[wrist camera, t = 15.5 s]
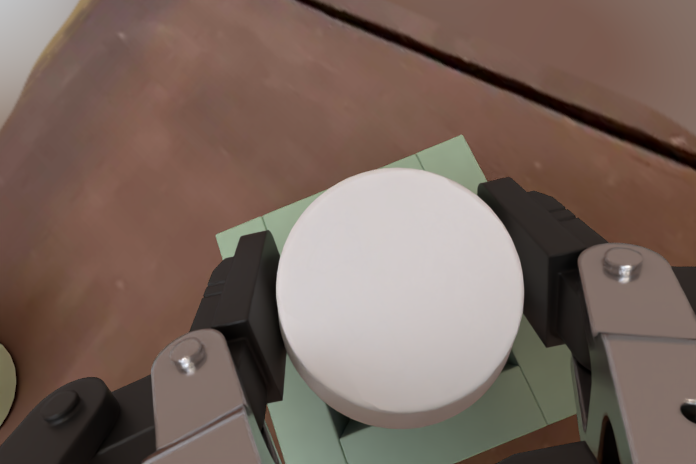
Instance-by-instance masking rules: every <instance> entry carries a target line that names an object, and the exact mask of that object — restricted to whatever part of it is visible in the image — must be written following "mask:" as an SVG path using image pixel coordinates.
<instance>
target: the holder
mask: <svg viewBox="0 0 696 464" xmlns="http://www.w3.org/2000/svg"><path fill="white" fill-rule="evenodd" d="M397 167H398V168H412V169H418V170H424V171H428V172H432V173H435V174H438V175H441V176H444V177H446V178H448V179H451V180H453V181H455V182H457V183H459V184H461V185H462V186H464V187H466V188H467V189H469V190H470V191H472V192H473V193H474V194H476V195H477V188H478V185H479V184H480V183H484V182H487V180H486V178H485V176H484V174H483V172H482V170H481V169H480V167H479V165H478V163H477V161H476V159H475V157H474V155H473V153H472V152H471V150H470V148H469V146H468V144H467V142H466V140H465V138H464V137H463V135H460V136H457V137H455V138H452V139H450V140H448V141H445V142H443V143H440V144H438V145H435V146H433V147H430V148H428V149H425V150H423V151H420V152H418V153H416V154H413V155H411V156H408V157H406V158H404V159H401V160H399V161H396V162H394V163H391V164H389V165H386V166H384V167H381V168H379V169H383V168H397ZM376 170H377V169H376ZM327 190H328V189H327ZM325 191H326V190H324V191H322V192H320V193H317V194H315V195H312V196H310V197H307V198H305V199H302V200H300V201H297V202H295V203H292V204H290V205H287V206H285V207H282V208H280V209H278V210H275V211H273V212H270V213H268V214H265V215H263V217H258V218H255V219H253V220H251V221H248V222H246V223H243V224H241V225H238V226H236V227H233V228H231V229H228V230H226V231H223V232H221V233H218V234H216V239H217V242H218V246H219V249H220V252H221V255H222V259H223V260H224V259H225V258H228V257H233V256H234V254H235V251H236V248H237V245H238V242H239V239H240V237H241V236H243V235H248V234H252V233H257V232H261V231H266V230H269V231H270V232H271V233H272V235H273V237H274V240H275V243H276V246H277V249H278V252H279V254H280V256H281V253H282V250H283V247H284V244H285V242H286V240H287V238H288V236H289V233H290V231H291V229H292V228H293V226H294V225H295V223H296V222H297V220H298V219H299V217H300V216H301V214H302V213H303V212H304V211H305V210H306V209H307V207H308V206H309V205H310V204H311V203H312V202H313V201H314V200H315V199H316V198H318V197H319V196H320V195H321V194H323V193H324V192H325ZM570 359H571V351H570V350H569V348H568V347H567V345H566V344H564V345H559V346H554V347H549V348H546V347H545V345H544V344H543V342H542V341H541V339H540V338H539V337H538V335H537V334H536V332H535V331H534V329H533V328H532V326H531V325H530V323H529V322H528V320H527V319H526V317H525V316H524V314H522V318H521V322H520V326H519V331H518V333H517V336H516V338H515V341H514V343H513V346H512V349H511V352H510V354H509V357H508V359H507V362H506V364H505V366H504V368H503V369H502V371H501V373H500V375H499V376H498V378H497V379H496V380H495V382H494V383H493V384H492V386H491V387H490V388H489V389H488V390H487V391H486V392H485V394H484V395H483V396H482V397H481V398H479V399H478V400H477V401H476V402H475V403H474V404H472V405H471V406H470V407H468V408H467V409H465V410H464V411H462V412H460V413H459V414H457V415H455V416H453V417H451V418H449V419H447V420H444V421H442V422H439V423H437V424H433V425H429V426H425V427H421V428H413V429H388V428H382V427H375V426H371V425H367V424H364V423H361V422H358V421H356V420H353V419H351V418H349V417H347V416H345V415H343V414H341V413H340V412H338V411H336V410H335V409H333V408H332V407H330V406H329V405H328V404H326V403H325V402H324V401H323V400H321V399H320V398H319V397H318V396H317V395H316V394H315V393H314V392H313V390H312V389H311V388H310V387H309V386H308V385H307V384H306V383H305V381H304V380H303V379H302V378H301V376H300V375H299V373H298V372H297V370H296V369H295V367H294V365H293V363H292V362H291V360H290V358H289V356H288V353H287V356H286V368H285V380H284V392H283V401H278V402H273V403H269V404H267V405H268V409H269V412H270V415H271V418H272V422H273V425H274V428H275V431H276V435H277V438H278V441H279V445H280V448H281V451H282V454H283V458H284V461H285V464H455V463H457V462H459V461H462V460H464V459H467V458H469V457H472V456H474V455H477V454H479V453H482V452H484V451H486V450H489V449H491V448H494V447H496V446H499V445H501V444H504V443H506V442H508V441H511V440H513V439H516V438H518V437H521V436H523V435H526V434H528V433H530V432H533V431H535V430H538V429H540V428H543V427H545V426H547V424H548V425H550V424H552V423H555V422H557V421H560V420H562V419H565V418H567V417H570V416H572V415H574V414H577V412H576V405H575V398H574V391H573V384H572V376H571V369H570Z"/></svg>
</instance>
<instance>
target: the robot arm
mask: <svg viewBox="0 0 696 464" xmlns="http://www.w3.org/2000/svg"><path fill="white" fill-rule="evenodd" d="M477 196H478V197H479V198H481V199H482V200H483V201H484V202H485V203H486V204H487V205H488V206H489V207H490V208H491V209H492V210H493V212H494V213H495V214H496V215H497V216H498V218H499V219H500V220H501V222H502V223H503V224H504V226H505V227H506V229H507V231H508V233H509V235H510V237H511V238H512V241H513V243H514V246H515V248H516V251H517V253H518V256H519V259H520V263H521V267H522V272H523V281H524V304H523V314H524V316H525V317H526V319H527V320H528V322H529V323H530V325H531V326H532V328H533V329H534V331H535V332H536V334H537V335H538V337H539V338H540V339H541V341H542V342H543V344H544V345H545V347H546V348H549V347H554V346H559V345H564V344H566V345H567V347H568V348H569V350H570V351H571V359H570V369H571V376H572V384H573V391H574V398H575V405H576V412H577V420H578V427H579V434H580V442H575V443H570V444H564V445H559V446H554V447H549V448H544V449H538V450H533V451H528V452H523V453H518V454H514V455H512V456H510V457H508V458H506V459H504V460H502V461H500V462H498V463H496V464H696V267H671V266H670V264H669V263H668V261H667V260H666V259H665V258H664V257H662V256H661V255H659V254H658V253H656V252H654V251H652V250H650V249H647V248H645V247H641V246H638V245H633V244H626V243H608V242H607V241H606V240H605V239H604V238H602V237H601V236H600V235H599V234H597V233H596V232H595V231H594V230H592V229H591V228H590V227H589V226H588V225H586V224H585V223H584V222H583V221H581V220H580V219H579V218H576V217H575V215H574V214H573V213H572V212H570V211H569V210H568V209H567V210H566V209H565V207H564V206H563V205H562V204H561V203H559V202H558V201H557V200H556V199H554V198H553V197H551V196H548V195H545V194H542V193H539V192H537V191H530V192H526V191H525V190H524V189H523V188H522V187H521V186H519V185H518V184H517V183H516V182H515V181H514V180H513V179H512V178H510V177H506V178H502V179H497V180H493V181H488V182H484V183H480V184H479V185H478V188H477ZM279 260H280V254H279V252H278V249H277V246H276V243H275V240H274V237H273V235H272V233H271V232H270V231H269V230H266V231H261V232H257V233H252V234H248V235H243V236H241V237H240V239H239V242H238V245H237V248H236V251H235V254H234V256H233V257H228V258H225V259H224V260H223V261H222V262H221V263H220V264H219V265H218V266H217V267H216V268H215V269H214V271H213V272H212V275H211V277H210V280H209V282H208V287H207V288H206V290H205V293H204V295H203V296H204V298H202V300H201V303H200V306H199V308H198V311H197V313H196V316H195V318H194V321H193V324H192V326H191V329H190V331H189V333H186V334H184V335H182V336H180V337H178V338H177V339H175V340H174V341H172V342H171V343H170V344H168V345H167V346H166V347H165V348H164V349H163V350H162V351H161V352H160V353H159V354H158V356H157V357H156V359H155V360H154V362H153V365H152V368H151V375H148V376H146V377H144V378H142V379H140V380H138V381H135V382H133V383H131V384H129V385H127V386H124V387H122V388H120V389H118V390H115V391H113V392H111V391H110V390H109V388H108V387H107V386H106V384H105V383H104V382H103V380H101V379H99V378H96V377H87V378H82V379H78V380H75V381H73V382H70V383H68V384H66V385H64V386H62V387H60V388H59V389H57V390H55V391H54V392H52V393H51V394H50V395H48V396H47V397H46V398H44V399H43V400H42V401H41V402H40V403H39V404H38V405H37V406H36V407H35V408H34V409H33V410H32V411H31V412H30V413H29V414H28V415H27V416H26V418H25V419H24V420H23V421H22V422H21V423H20V424H19V426H18V427H17V428H16V429H15V430H14V431H13V432H12V434H11V435H10V436H9V437H8V438H7V439H6V440H5V442H4V443H3V444H2V445H1V446H0V464H282V463H281V461H280V458H279V455H278V453H277V450H276V447H275V445H274V442H273V439H272V437H271V434H270V431H269V428H268V426H267V424H266V422H265V420H264V419H265V411H266V404H269V403H273V402H278V401H283V392H284V380H285V368H286V356H287V351H286V348H285V346H284V342H283V339H282V335H281V331H280V327H279V319H278V307H277V300H276V280H277V271H278V265H279Z"/></svg>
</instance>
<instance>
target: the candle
mask: <svg viewBox="0 0 696 464" xmlns="http://www.w3.org/2000/svg"><path fill="white" fill-rule="evenodd" d="M15 388H16V373H15V366H14V364H13V361H12V358H11V356H10V354H9V353H8V351H7V350H6V349H5V348H4V346H3V345H2V344H0V426H1V424H2V423H3V421H4V419H5V418H6V416H7V415H8V413H9V410H10V407H11V405H12V402H13V399H14V395H15Z"/></svg>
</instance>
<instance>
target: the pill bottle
mask: <svg viewBox="0 0 696 464" xmlns="http://www.w3.org/2000/svg"><path fill="white" fill-rule="evenodd" d="M276 300H277V307H278V319H279V327H280V331H281V335H282V339H283V342H284V346H285V348H286V351H287V353H288V356H289V358H290V360H291V362H292V363H293V365H294V367H295V369H296V370H297V372H298V373H299V375H300V376H301V378H302V379H303V380H304V381H305V383H306V384H307V385H308V386H309V387H310V388H311V389H312V390H313V392H314V393H315V394H316V395H317V396H318V397H319V398H320V399H321V400H323V401H324V402H325V403H326V404H328V405H329V406H330V407H332V408H333V409H335V410H336V411H338V412H340V413H341V414H343V415H345V416H347V417H349V418H351V419H353V420H356V421H358V422H361V423H364V424H367V425H371V426H375V427H382V428H388V429H413V428H421V427H425V426H429V425H433V424H437V423H439V422H442V421H444V420H447V419H449V418H451V417H453V416H455V415H457V414H459V413H460V412H462V411H464V410H465V409H467V408H468V407H470V406H471V405H472V404H474V403H475V402H476V401H477V400H478V399H479V398H481V397H482V396H483V395H484V394H485V392H486V391H487V390H488V389H489V388H490V387H491V386H492V384H493V383H494V382H495V380H496V379H497V378H498V376H499V375H500V373H501V371H502V369H503V368H504V366H505V364H506V362H507V359H508V357H509V354H510V352H511V349H512V346H513V343H514V341H515V338H516V336H517V333H518V331H519V326H520V322H521V318H522V314H523V304H524V281H523V272H522V267H521V263H520V259H519V256H518V253H517V251H516V248H515V246H514V243H513V241H512V238H511V237H510V235H509V233H508V231H507V229H506V227H505V226H504V224H503V223H502V222H501V220H500V219H499V218H498V216H497V215H496V214H495V213H494V212H493V210H492V209H491V208H490V207H489V206H488V205H487V204H486V203H485V202H484V201H483V200H482V199H481V198H479V197H478V196H477V195H476V194H474V193H473V192H472V191H470V190H469V189H467V188H466V187H464V186H462V185H461V184H459V183H457V182H455V181H453V180H451V179H448V178H446V177H444V176H441V175H438V174H435V173H432V172H428V171H424V170H418V169H412V168H398V167H397V168H383V169H377V170H371V171H367V172H364V173H360V174H358V175H356V176H352V177H349V178H347V179H345V180H344V181H341V182H339V183H337V184H336V185H335V186H333V187H331V188H329V189H328V190H326V191H325V192H324V193H323V194H321V195H320V196H319V197H318V198H316V199H315V200H314V201H313V202H312V203H311V204H310V205H309V206H308V207H307V209H306V210H305V211H304V212H303V213H302V214H301V216H300V217H299V219H298V220H297V222H296V223H295V225H294V226H293V228H292V229H291V231H290V233H289V236H288V238H287V240H286V242H285V244H284V247H283V250H282V253H281V256H280V260H279V265H278V271H277V280H276Z"/></svg>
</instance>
